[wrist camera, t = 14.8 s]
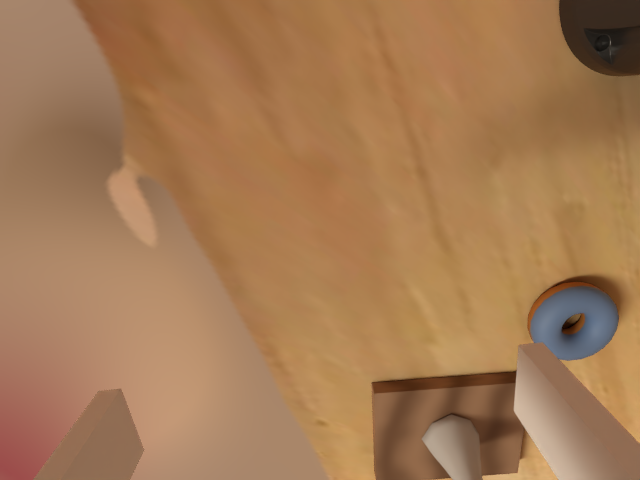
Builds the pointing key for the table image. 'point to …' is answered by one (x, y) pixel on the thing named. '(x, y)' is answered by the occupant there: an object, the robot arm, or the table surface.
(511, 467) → the walnut board
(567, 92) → the table surface
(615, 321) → the doughnut
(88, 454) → the robot arm
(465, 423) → the flask
